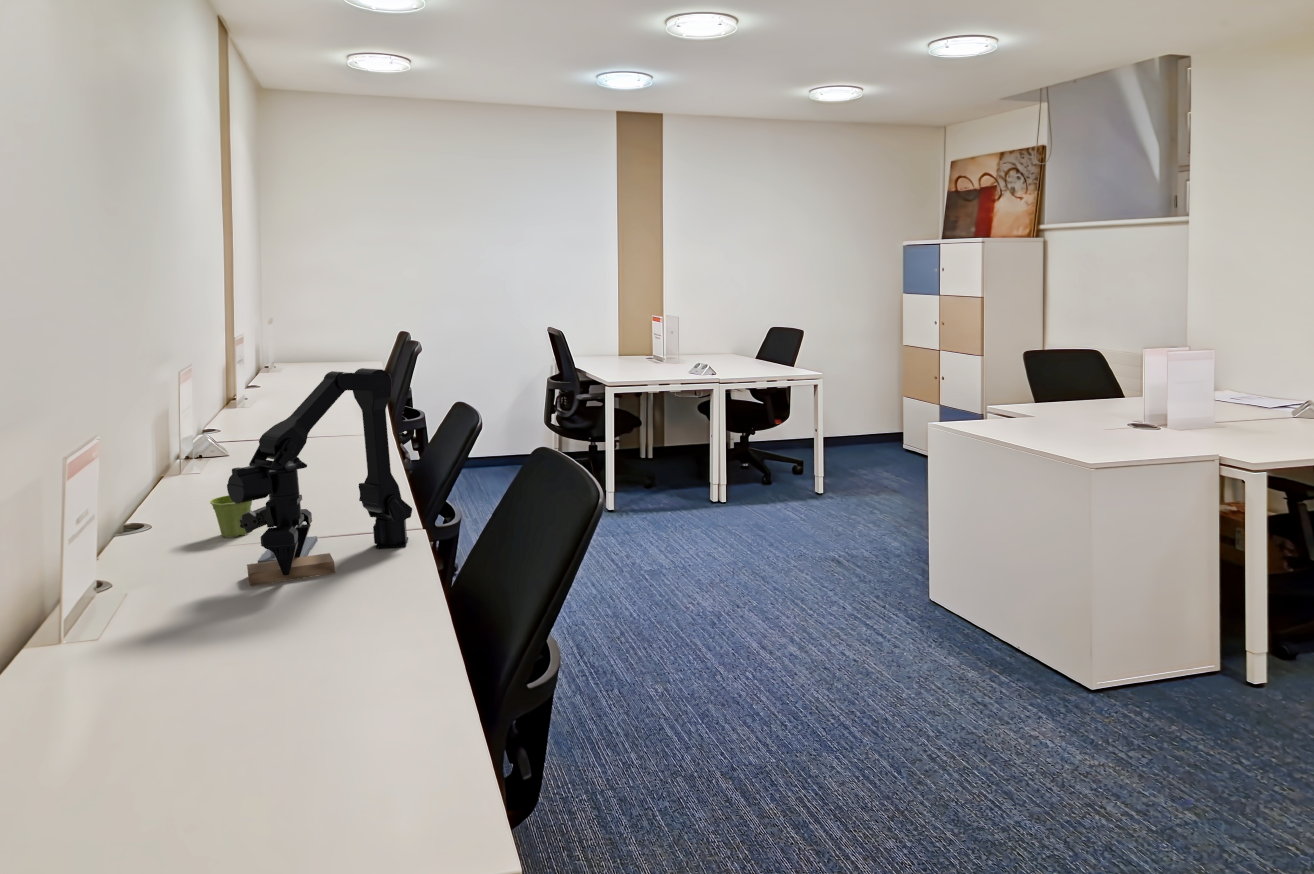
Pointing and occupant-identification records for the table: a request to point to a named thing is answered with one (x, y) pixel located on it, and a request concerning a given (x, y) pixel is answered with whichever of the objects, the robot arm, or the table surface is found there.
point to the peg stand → (305, 551)
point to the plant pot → (230, 515)
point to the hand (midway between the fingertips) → (291, 568)
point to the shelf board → (299, 569)
